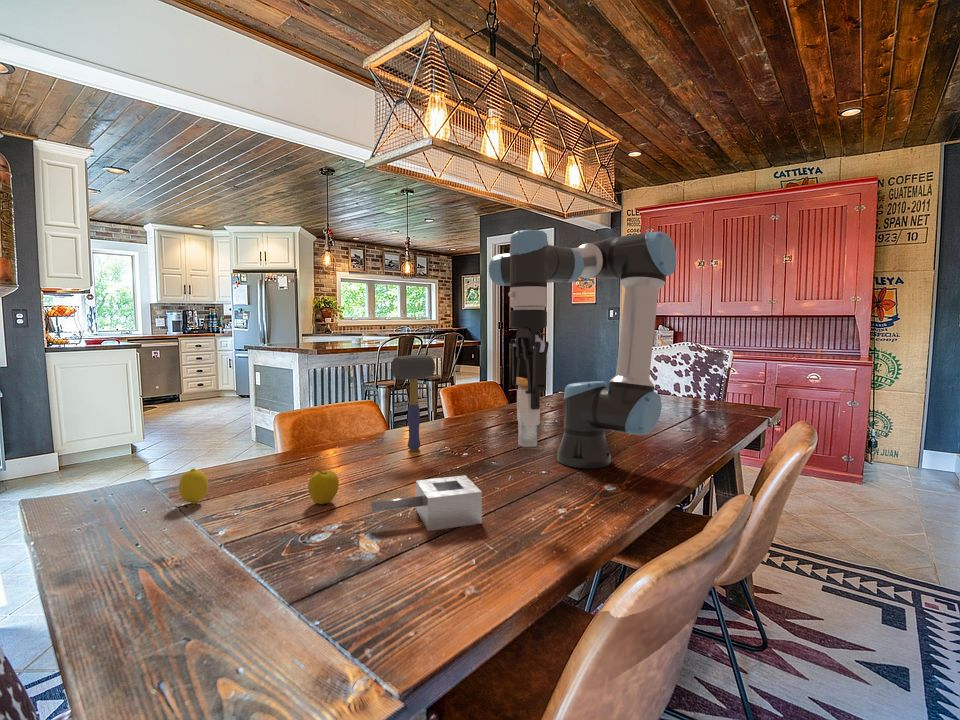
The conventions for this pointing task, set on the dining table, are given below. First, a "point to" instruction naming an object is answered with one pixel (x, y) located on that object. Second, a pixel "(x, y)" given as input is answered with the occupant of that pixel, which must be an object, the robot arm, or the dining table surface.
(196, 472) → the lemon
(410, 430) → the rubber mallet
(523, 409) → the grey gold cylinder
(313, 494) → the apple
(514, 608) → the dining table surface
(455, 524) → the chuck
